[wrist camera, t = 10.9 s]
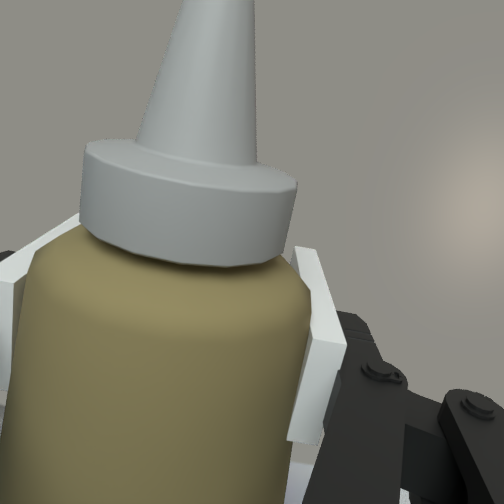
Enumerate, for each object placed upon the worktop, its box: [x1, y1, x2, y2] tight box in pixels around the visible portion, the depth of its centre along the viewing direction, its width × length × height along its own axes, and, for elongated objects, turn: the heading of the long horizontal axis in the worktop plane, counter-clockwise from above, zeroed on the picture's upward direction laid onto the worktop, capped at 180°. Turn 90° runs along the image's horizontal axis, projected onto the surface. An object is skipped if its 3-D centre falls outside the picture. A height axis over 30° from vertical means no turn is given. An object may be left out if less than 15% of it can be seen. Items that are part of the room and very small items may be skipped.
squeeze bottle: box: [0, 0, 312, 504], centre depth 12 cm, size 8×8×18 cm
